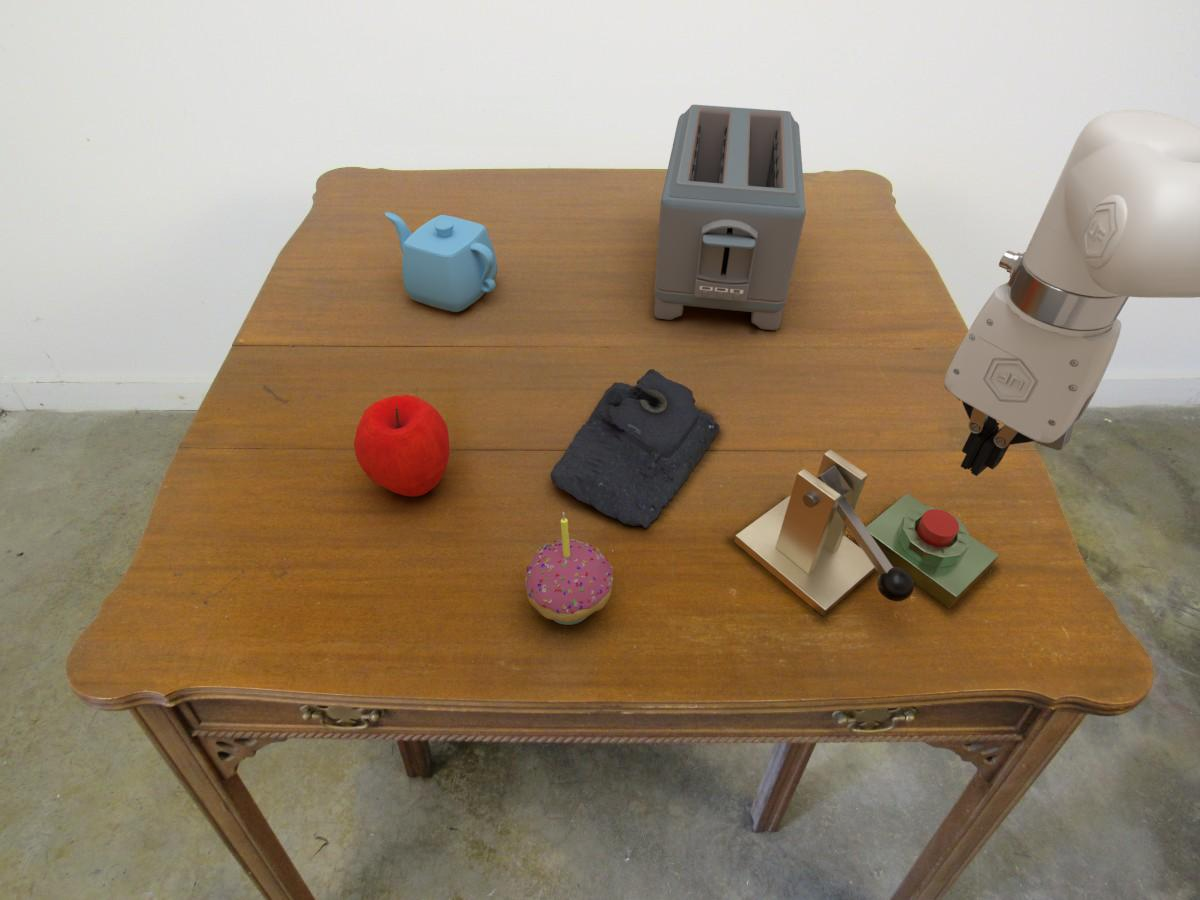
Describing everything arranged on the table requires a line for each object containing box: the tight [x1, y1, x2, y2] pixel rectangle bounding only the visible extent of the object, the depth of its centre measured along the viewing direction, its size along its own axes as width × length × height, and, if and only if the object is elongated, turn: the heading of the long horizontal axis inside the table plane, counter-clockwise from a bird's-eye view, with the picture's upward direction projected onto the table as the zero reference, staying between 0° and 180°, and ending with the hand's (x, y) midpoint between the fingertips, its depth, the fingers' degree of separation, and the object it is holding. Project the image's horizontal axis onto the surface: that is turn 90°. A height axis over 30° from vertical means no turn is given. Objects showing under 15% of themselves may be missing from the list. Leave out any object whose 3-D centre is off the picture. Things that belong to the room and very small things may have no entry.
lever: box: [814, 466, 915, 602], centre depth 70 cm, size 14×3×3 cm, turn 39°
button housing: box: [865, 492, 1000, 609], centre depth 77 cm, size 11×8×4 cm
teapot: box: [384, 211, 498, 313], centre depth 109 cm, size 12×18×12 cm
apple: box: [353, 394, 451, 498], centre depth 80 cm, size 10×10×12 cm
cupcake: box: [524, 511, 614, 626], centre depth 70 cm, size 9×8×12 cm
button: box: [917, 508, 959, 547], centre depth 76 cm, size 4×4×2 cm
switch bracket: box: [733, 448, 877, 617], centre depth 74 cm, size 12×9×13 cm
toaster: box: [653, 104, 807, 331], centre depth 109 cm, size 19×33×20 cm, turn 171°
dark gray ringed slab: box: [550, 368, 720, 529], centre depth 87 cm, size 15×22×5 cm
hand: (976, 464), depth 68 cm, fingers closed
